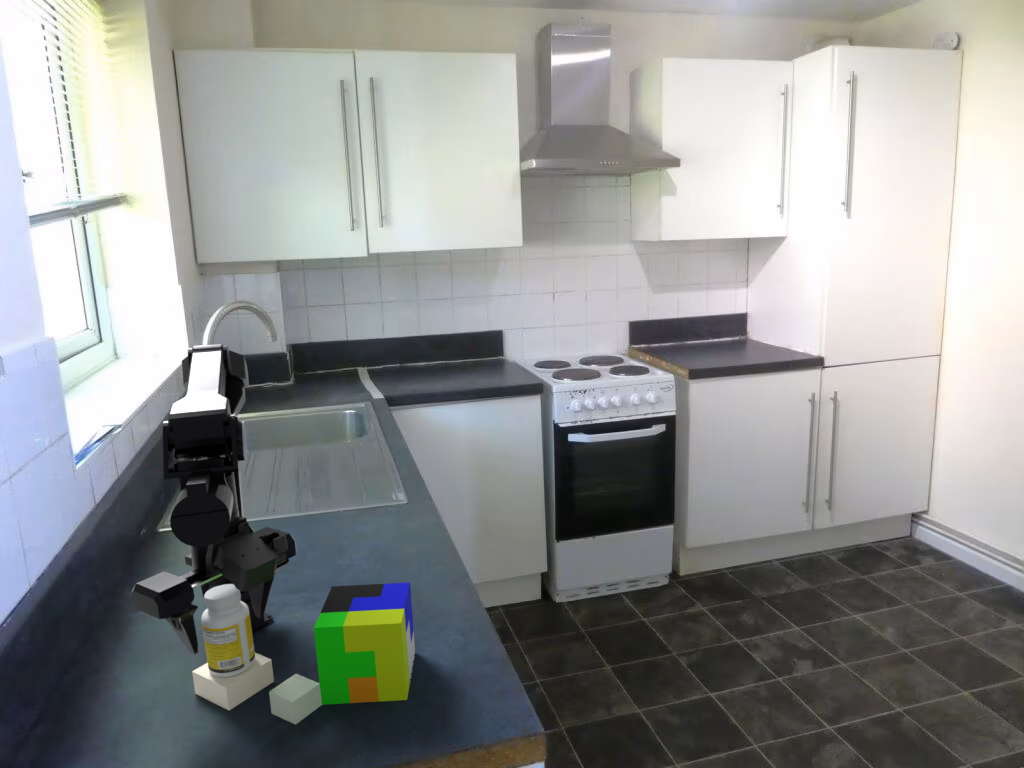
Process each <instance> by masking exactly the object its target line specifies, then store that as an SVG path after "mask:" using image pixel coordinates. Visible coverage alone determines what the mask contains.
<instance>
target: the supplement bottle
mask: <svg viewBox="0 0 1024 768" xmlns="http://www.w3.org/2000/svg"><path fill="white" fill-rule="evenodd" d="M203 598H204V605H205V608H206V609H205V610H204V611H203V612H202V614H201V617H200V618H201V619H200V620H201V622H200V623H201V627H202V628H201V629H202V634H203V635H202V636H203V642H204V648H205V655H206V660H207V661H206V663H208V668H209V671H210V673H211V674H213V675H215V676H218V677H229V676H234V675H237V674H240V673H242V672H244V671H246V670H247V669H248V668H250V667H251V666H252V665H253V663H254V661H255V653H256V651H255V644H254V637H253V631H252V628H251V621H250V613H249V608H248V606H247V604H246V603H244V602H242V601H240V600H241V593H240V590H238V589H237V588H236V587H235V585H234V584H225V585H220V586H217V587H214V588H212V589H210V590H208V591H207V592H206V593H205V595H204V597H203Z"/></svg>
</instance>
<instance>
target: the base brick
mask: <svg viewBox="0 0 1024 768" xmlns="http://www.w3.org/2000/svg"><path fill="white" fill-rule="evenodd" d="M273 670H274V669H273V662H272V659H271V658H269V657H266V656H264V655H262V654H260V653H256V652H255V661H254V663H253V665H252V666H251V667H250V668H248V669H247V670H246V671H244V672H242V673H240V674H237V675H234V676H229V677H218V676H215V675H213V674H211V673H210V671H209V668H208V662H206V663H204V664H202V665H200V666H199V667H197V668H196V669H194V670H192V672H191V673H192V678H193V679H192V680H193V687H194V693H195V695H197V696H199V697H201V698H204V699H205V700H207V701H209V702H211V703H213V704H215V705H217V706H219V707H221V708H223V709H224V710H227V711H231V710H233V709H234V708H235V707H237V706H238V705H241V703H243V702H244V701H247V699H249V698H251V697H252V696H254V695H255V694H257V693H258V692H260V691H261V690H263V689H264V688H266V687H268V686H269V685H270V684H273V683H274V682H275V678H274V671H273Z"/></svg>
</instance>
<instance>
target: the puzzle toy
mask: <svg viewBox="0 0 1024 768" xmlns="http://www.w3.org/2000/svg"><path fill="white" fill-rule="evenodd" d="M411 592H412V590H411V582H410V581H409V582H393V583H392V582H391V583H376V584H355V585H352V584H351V585H335V586H334V585H333V586H331V587H330V589H329V592H328V595H327V596H326V599H325V601H324V603H323V606H322V608H321V610H320V613H319V615H318V617H317V620H316V622H315V625H314V627H313V633H314V643H315V652H316V654H315V655H316V663H317V673H318V683H320V692H321V701H322V705H321V706H324V705H340V704H342V705H343V704H360V703H373V702H374V703H377V702H394V701H407V700H408V696H409V691H410V685H411V680H410V679H412V674H413V668H414V662H413V661H415V656H416V655H415V654H416V649H415V648H416V646H415V632H414V629H415V628H414V617H413V605H412V603H413V601H412V593H411ZM414 655H415V656H414ZM412 667H413V668H412ZM411 673H412V674H411Z"/></svg>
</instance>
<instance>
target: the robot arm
mask: <svg viewBox="0 0 1024 768" xmlns="http://www.w3.org/2000/svg"><path fill="white" fill-rule="evenodd" d="M247 364H248V363H247V361H246V357H245V355H243V354H240V353H239V352H236V351H233V350H230V348H229V346H228V345H227V344H226V345H224V344H222V343H218V344H215V343H214V344H204V345H203V344H202V345H193V347H188V348H187V356H186V357H184V358H183V359H182V360H181V370H182V385H183V387H184V388H185V395H184V397H182V398H181V399H179V400H177V401H176V402H174V403H172V405H171V406H170V410H169V412H168V417H167V420H163V422H162V460H163V464H162V465H163V481H170V480H179V484H180V490H179V493H178V495H177V498H176V501H175V504H174V505H173V508H172V511H171V514H170V520H169V524H170V525H169V526H170V529H171V532H172V533H173V535H174V537H175V538H177V540H179V541H180V542H181V543H182V544H185V545H187V546H189V551H190V554H186V555H184V560H185V565H187V566H190V567H192V571H189V572H187V573H185V574H182V575H179V576H178V575H175V574H172V573H170V572H168V571H165V570H164V571H161V572H159V573H157V574H154V575H152V576H150V577H148V578H146V579H143V580H141V581H138V582H137V583H135V585H134V586H133V588H132V589H131V594H130V598H131V603H132V608H133V609H135V610H137V611H139V612H142V613H144V614H146V615H149V616H150V617H151V616H152V617H154V618H156V619H159V620H165V621H166V622H167V623H168V624H169V625H170V627H171V628H172V629H173V631H174V632H175V634H176V635H177V636H178V638H179V639H180V641H181V642H182V643H183V645H184V646H185V648H186V649H187V650H188V652H189V653H190V654H193V655H196V654H198V653H199V643H198V642H199V641H198V637H197V636H198V635H197V630H196V625H195V618H194V615H195V613H197V610H198V608H199V606H198V605H196V604H193V602H194V600H195V589H197V588H199V587H200V589H201V592H202V593H201V594H202V597H203V598H204V595H205V593H206V592H207V591H208V590H210V589H212V588H214V587H217V586H220V585H225V584H234V585H235V587H236V588H237V589H238V590H240V593H241V600H240V601H242V602H244V603H246V604H247V606H248V608H249V613H250V621H251V628H252V632H254V631H256V630H258V629H259V628H261V627H263V626H265V625H266V624H268V623H270V622H272V621H273V620H274V616H273V615H271V614H269V613H266V607H267V604H268V600H269V596H270V592H271V588H272V585H273V582H274V579H275V578H276V574H277V573H279V571H280V570H282V568H284V567H285V566H287V565H288V564H289V563H290V559H291V558H293V557H295V556H297V553H298V551H297V550H298V549H297V542H296V539H295V538H294V536H293V535H292V534H291V533H289V532H286V531H282V530H280V529H275V528H271V527H268V526H265V527H264V528H261V529H259V530H256V531H255V530H254V529H253V528H252V526H251V525H250V524H249V522H248V521H247V517H245V515H244V513H245V512H244V511H245V510H244V501H243V500H244V499H243V490H242V489H243V488H242V475H241V462H242V461H245V441H244V440H245V439H244V438H245V437H244V427H243V426H244V425H243V423H242V421H240V420H239V417H238V416H239V413H240V411H241V410H242V408H243V406H244V405H245V403H246V391H245V390H246V389H245V388H249V387H250V383H249V372H248V365H247ZM174 460H175V461H178V462H174ZM184 460H187V461H184ZM188 460H189V461H188ZM179 461H180V462H179ZM240 461H241V462H240ZM173 462H174V463H173Z"/></svg>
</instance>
